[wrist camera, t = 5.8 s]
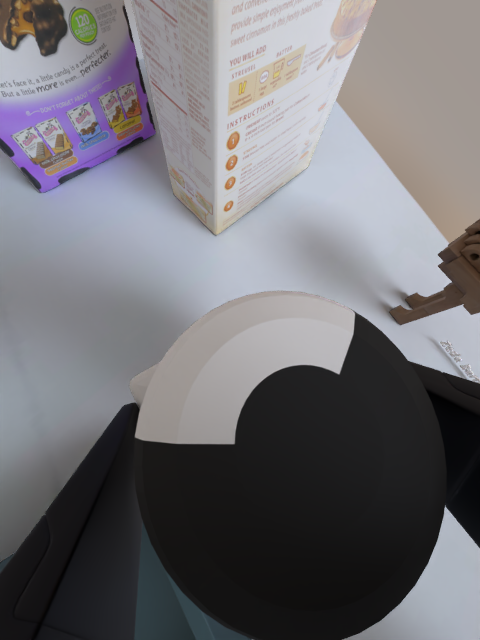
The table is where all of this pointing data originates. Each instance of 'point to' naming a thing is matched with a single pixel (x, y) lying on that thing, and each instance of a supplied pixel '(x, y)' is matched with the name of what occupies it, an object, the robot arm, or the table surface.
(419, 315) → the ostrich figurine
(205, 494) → the medicine bottle
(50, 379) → the table surface
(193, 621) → the bin
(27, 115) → the candy box
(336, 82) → the coffeecake box
